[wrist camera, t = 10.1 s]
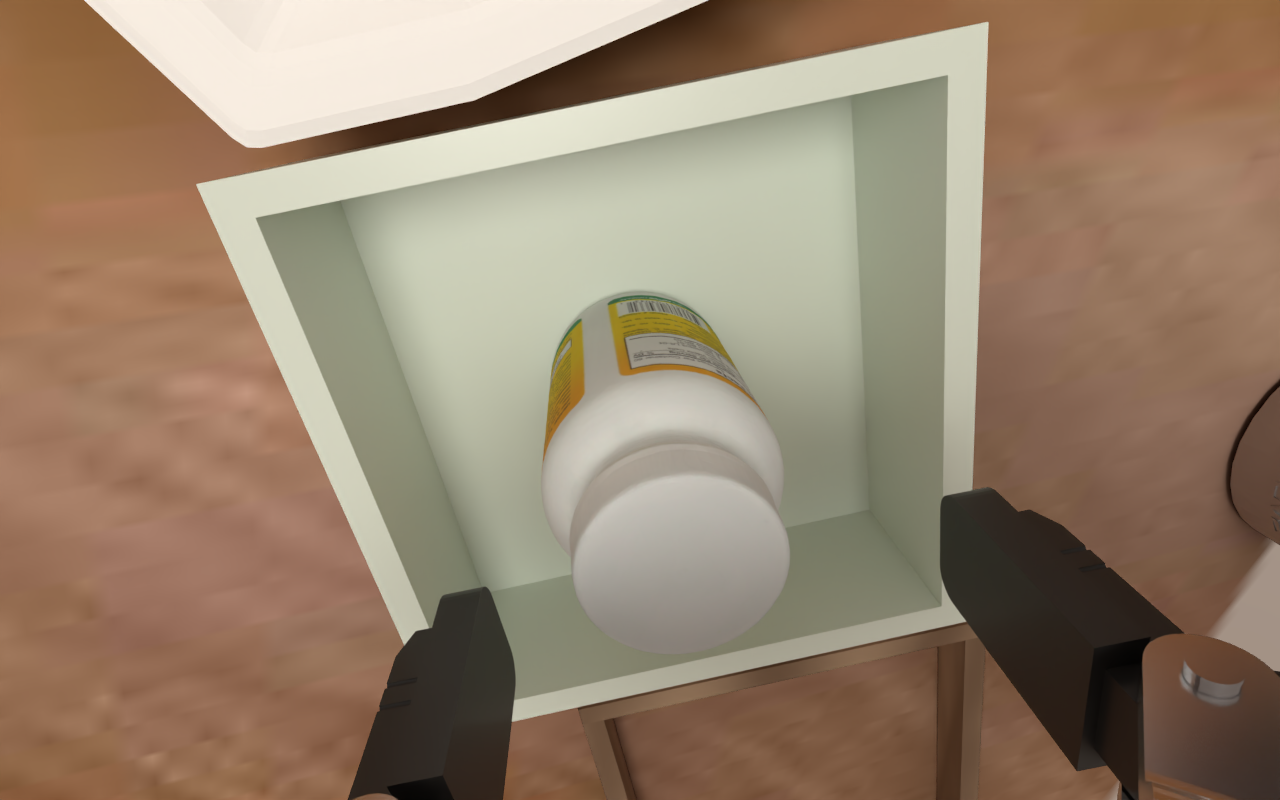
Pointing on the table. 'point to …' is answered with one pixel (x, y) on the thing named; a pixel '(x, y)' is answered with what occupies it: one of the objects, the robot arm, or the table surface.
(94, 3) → the bowl
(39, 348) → the table surface
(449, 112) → the table surface
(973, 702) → the walnut frame
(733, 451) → the supplement bottle
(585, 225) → the plastic bin
